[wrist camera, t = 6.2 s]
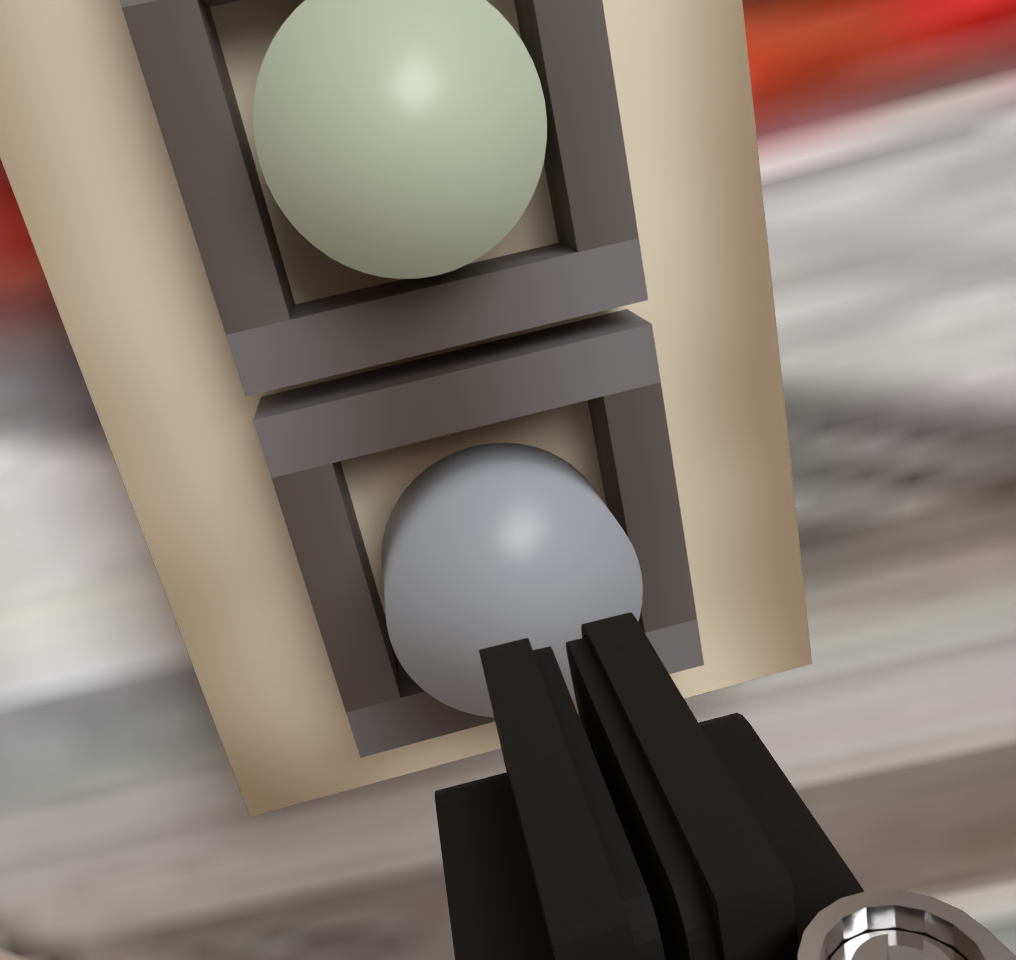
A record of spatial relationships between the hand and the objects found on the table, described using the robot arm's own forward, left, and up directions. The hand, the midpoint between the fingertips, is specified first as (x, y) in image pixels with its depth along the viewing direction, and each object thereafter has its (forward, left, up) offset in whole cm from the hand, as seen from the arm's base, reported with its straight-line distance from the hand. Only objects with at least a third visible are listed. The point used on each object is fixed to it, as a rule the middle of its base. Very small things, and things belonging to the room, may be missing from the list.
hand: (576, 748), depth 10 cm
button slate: (0, +1, -7) cm, 7 cm away
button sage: (0, -6, -8) cm, 10 cm away
